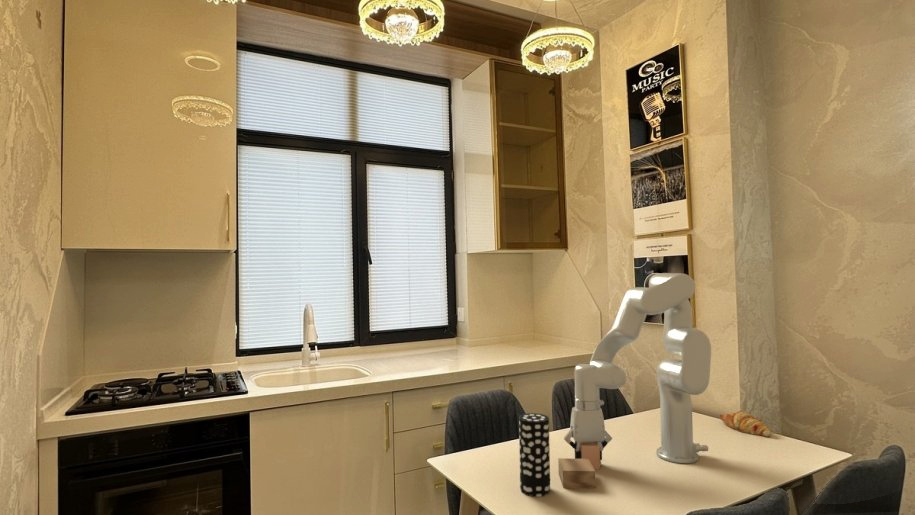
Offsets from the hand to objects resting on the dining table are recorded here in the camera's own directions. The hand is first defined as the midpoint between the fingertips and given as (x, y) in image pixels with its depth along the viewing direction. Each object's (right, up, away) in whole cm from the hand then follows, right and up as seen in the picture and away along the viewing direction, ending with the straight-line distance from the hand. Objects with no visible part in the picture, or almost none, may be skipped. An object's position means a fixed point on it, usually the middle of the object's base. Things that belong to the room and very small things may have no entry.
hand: (588, 461), depth 151 cm
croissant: (+68, -2, +32) cm, 75 cm away
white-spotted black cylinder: (-19, -1, -17) cm, 26 cm away
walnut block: (-7, -1, -11) cm, 13 cm away
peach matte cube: (0, -1, 0) cm, 1 cm away
